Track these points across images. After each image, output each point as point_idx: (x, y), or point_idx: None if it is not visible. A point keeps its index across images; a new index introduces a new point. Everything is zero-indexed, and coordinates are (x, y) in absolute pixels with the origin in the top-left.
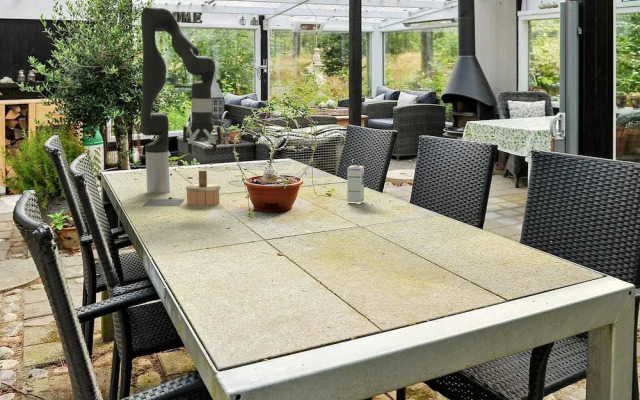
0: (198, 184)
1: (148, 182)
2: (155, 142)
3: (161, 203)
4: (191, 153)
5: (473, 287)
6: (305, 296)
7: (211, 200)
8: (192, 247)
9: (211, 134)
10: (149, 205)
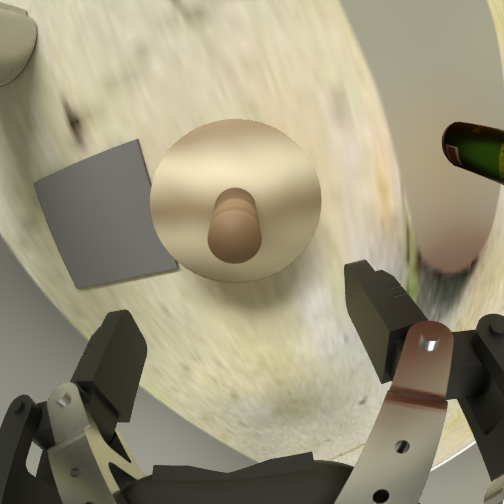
0: (189, 156)
1: None
2: None
3: (101, 241)
4: (143, 346)
5: None
6: None
7: None
8: (322, 458)
9: (425, 465)
10: (89, 278)
